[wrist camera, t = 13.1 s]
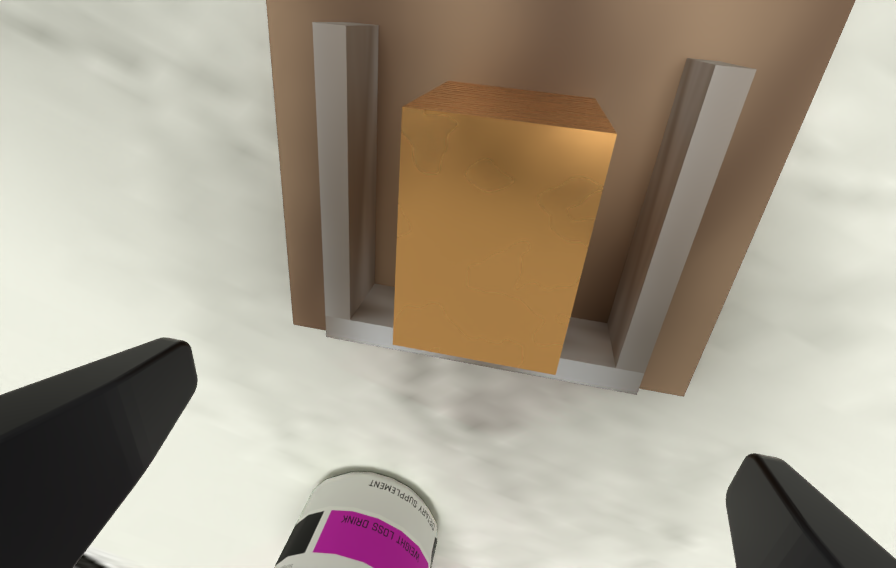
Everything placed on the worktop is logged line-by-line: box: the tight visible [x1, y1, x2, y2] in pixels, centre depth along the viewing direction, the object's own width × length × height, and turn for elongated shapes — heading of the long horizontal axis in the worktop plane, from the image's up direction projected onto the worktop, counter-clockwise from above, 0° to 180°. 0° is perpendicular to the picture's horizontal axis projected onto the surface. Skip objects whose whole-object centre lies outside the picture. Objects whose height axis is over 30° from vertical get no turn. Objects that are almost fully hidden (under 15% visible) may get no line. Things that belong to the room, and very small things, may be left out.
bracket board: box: [266, 0, 855, 397], centre depth 16 cm, size 18×22×4 cm
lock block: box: [393, 81, 617, 375], centre depth 15 cm, size 5×7×6 cm
